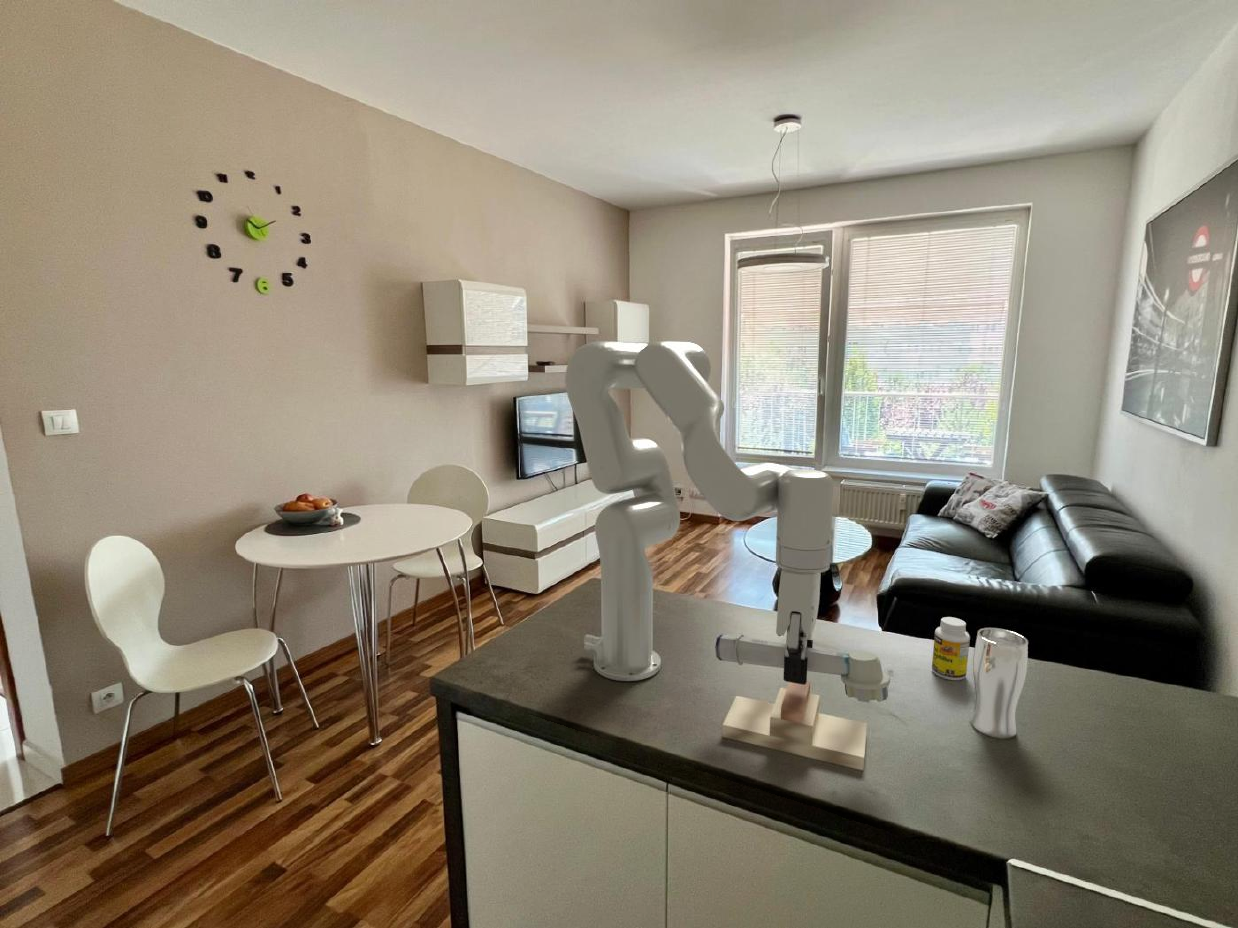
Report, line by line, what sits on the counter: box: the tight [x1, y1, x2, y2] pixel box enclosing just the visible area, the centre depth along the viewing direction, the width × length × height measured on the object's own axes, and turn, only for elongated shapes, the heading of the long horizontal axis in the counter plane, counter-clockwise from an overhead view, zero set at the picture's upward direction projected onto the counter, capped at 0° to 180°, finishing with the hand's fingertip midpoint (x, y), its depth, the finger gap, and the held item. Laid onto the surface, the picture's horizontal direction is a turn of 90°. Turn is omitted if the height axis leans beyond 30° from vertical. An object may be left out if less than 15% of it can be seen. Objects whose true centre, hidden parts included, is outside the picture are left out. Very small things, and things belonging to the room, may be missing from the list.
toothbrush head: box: [714, 633, 891, 703], centre depth 93 cm, size 5×7×25 cm
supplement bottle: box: [931, 616, 971, 681], centre depth 112 cm, size 6×6×10 cm
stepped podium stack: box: [722, 680, 868, 771], centre depth 94 cm, size 20×9×7 cm, turn 66°
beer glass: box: [970, 627, 1029, 740], centre depth 95 cm, size 7×7×15 cm
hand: (797, 671), depth 93 cm, fingers closed on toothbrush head, 5 cm apart
